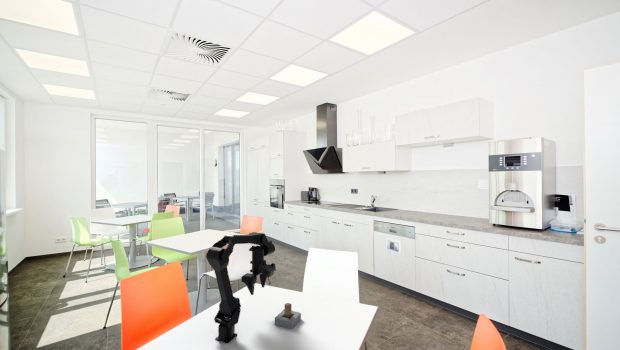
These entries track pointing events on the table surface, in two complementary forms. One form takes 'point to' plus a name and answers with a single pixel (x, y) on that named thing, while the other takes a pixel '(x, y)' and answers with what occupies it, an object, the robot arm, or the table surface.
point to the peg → (287, 310)
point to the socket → (287, 319)
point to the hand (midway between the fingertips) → (257, 290)
